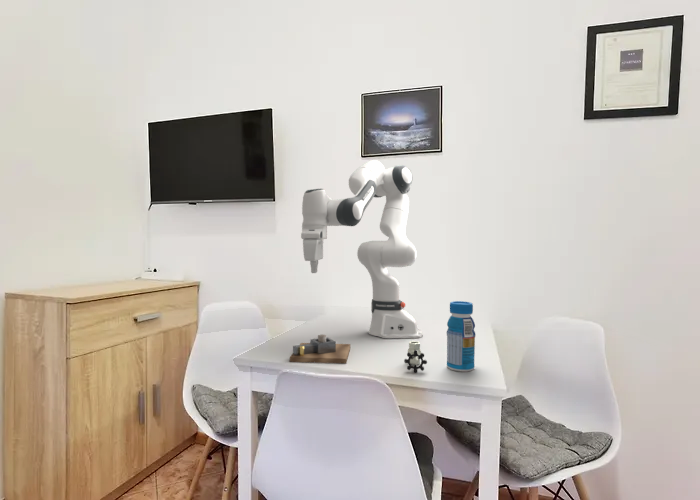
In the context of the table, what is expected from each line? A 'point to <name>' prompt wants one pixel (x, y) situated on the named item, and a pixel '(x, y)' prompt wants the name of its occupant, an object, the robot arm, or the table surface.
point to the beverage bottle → (460, 337)
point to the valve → (415, 356)
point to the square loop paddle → (316, 347)
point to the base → (333, 357)
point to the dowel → (301, 350)
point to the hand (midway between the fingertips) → (314, 272)
